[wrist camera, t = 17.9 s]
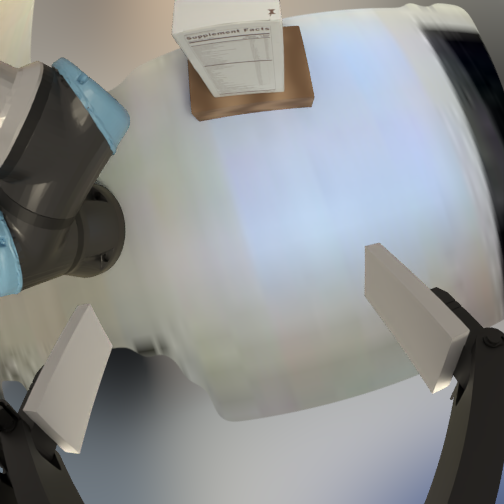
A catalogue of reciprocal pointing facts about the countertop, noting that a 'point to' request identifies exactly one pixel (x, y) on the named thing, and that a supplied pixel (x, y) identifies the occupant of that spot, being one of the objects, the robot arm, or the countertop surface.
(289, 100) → the walnut base
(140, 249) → the countertop surface
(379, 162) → the countertop surface
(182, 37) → the supplement box
